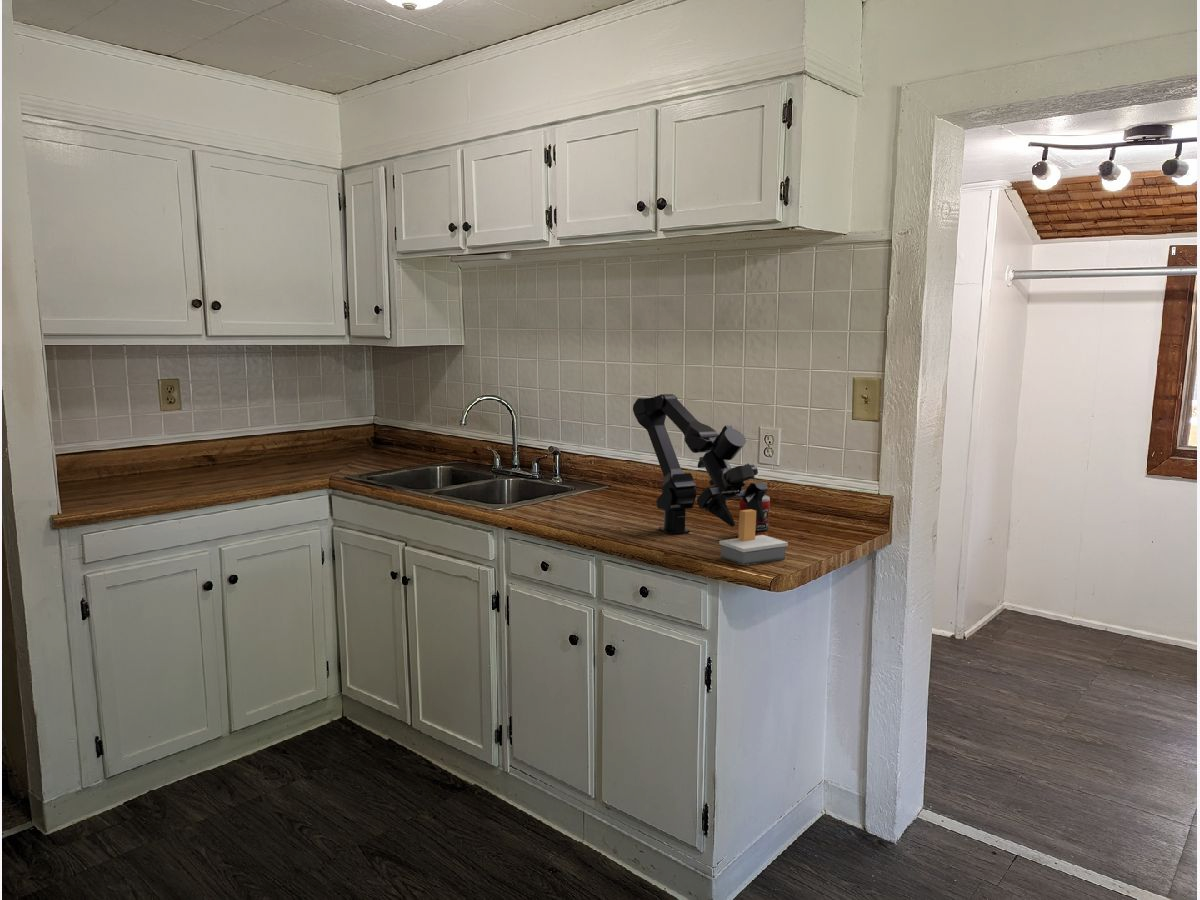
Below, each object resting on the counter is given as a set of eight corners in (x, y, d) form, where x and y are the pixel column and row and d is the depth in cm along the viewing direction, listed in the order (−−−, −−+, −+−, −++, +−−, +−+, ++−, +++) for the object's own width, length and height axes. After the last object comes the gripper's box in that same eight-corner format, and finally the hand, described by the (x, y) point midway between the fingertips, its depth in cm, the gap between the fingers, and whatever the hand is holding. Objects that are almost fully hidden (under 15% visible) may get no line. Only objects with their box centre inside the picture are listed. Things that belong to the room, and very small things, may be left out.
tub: (720, 557, 203) (721, 545, 203) (761, 551, 210) (762, 539, 210) (743, 565, 197) (744, 553, 196) (784, 559, 204) (785, 546, 203)
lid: (719, 544, 203) (720, 511, 202) (762, 537, 210) (764, 506, 209) (743, 552, 196) (745, 518, 195) (787, 545, 203) (789, 513, 202)
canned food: (753, 542, 219) (755, 500, 218) (731, 536, 226) (733, 495, 224) (774, 538, 224) (776, 497, 222) (752, 532, 230) (754, 492, 229)
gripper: (706, 453, 202) (735, 508, 194) (765, 449, 211) (795, 501, 204) (684, 481, 209) (711, 535, 201) (742, 476, 219) (770, 527, 211)
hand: (748, 524), depth 204 cm, fingers open, 9 cm apart
